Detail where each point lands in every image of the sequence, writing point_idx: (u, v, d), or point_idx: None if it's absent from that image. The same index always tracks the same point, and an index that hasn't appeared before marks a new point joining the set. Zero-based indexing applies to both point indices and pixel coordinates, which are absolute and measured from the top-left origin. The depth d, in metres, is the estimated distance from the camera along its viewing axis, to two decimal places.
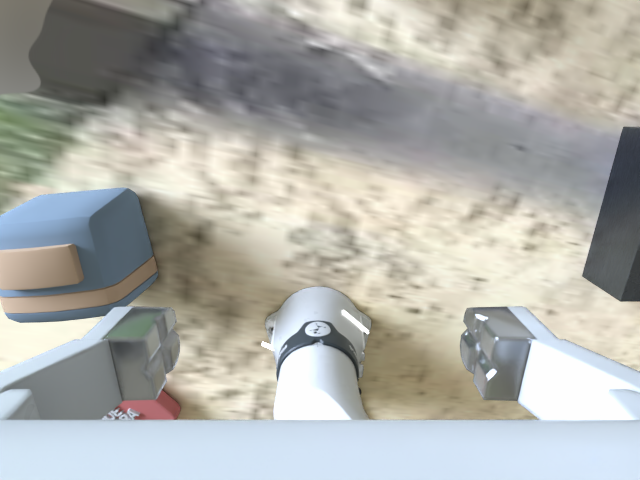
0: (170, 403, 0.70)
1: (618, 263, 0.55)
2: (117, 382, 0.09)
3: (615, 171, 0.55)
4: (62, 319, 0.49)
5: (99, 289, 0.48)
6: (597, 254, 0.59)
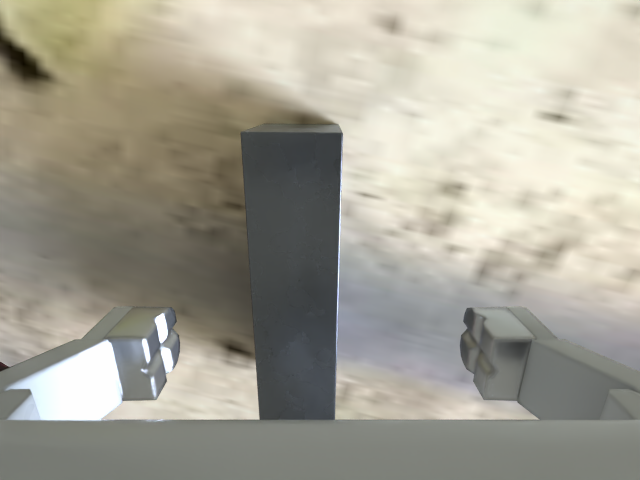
0: None
1: None
2: (117, 382, 0.09)
3: None
4: None
5: None
6: None
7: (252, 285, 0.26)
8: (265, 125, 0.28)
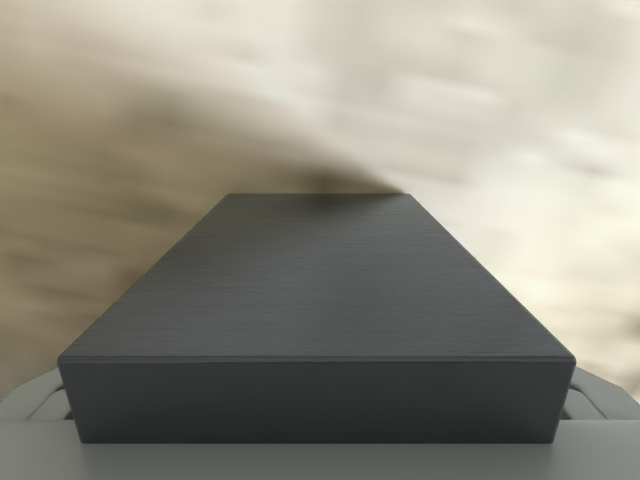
0: None
1: None
2: None
3: None
4: None
5: None
6: None
7: None
8: (225, 213, 0.10)
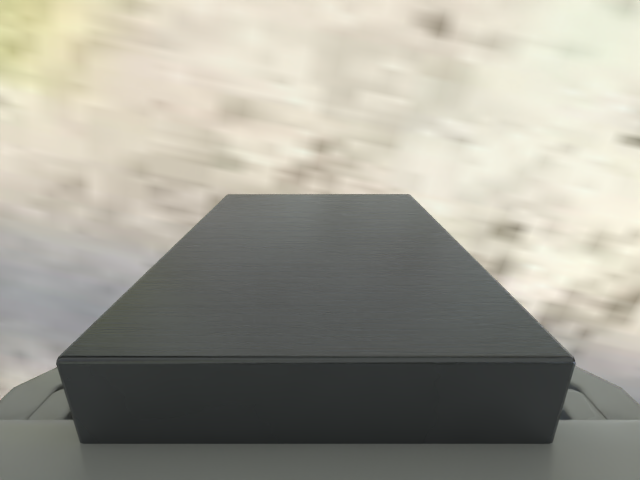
0: None
1: None
2: None
3: None
4: None
5: None
6: None
7: None
8: (225, 213, 0.10)
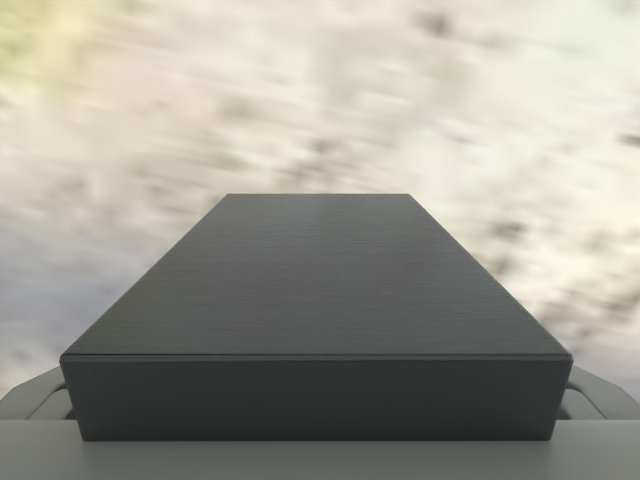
0: None
1: None
2: None
3: None
4: None
5: None
6: None
7: None
8: (225, 212, 0.10)
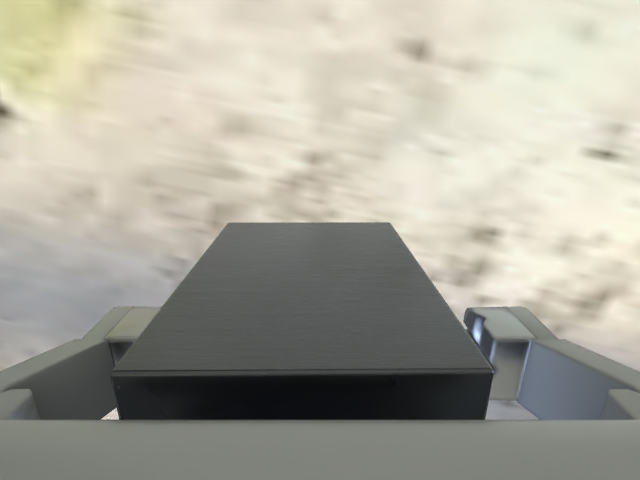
0: None
1: None
2: None
3: None
4: None
5: None
6: None
7: None
8: (227, 243, 0.12)
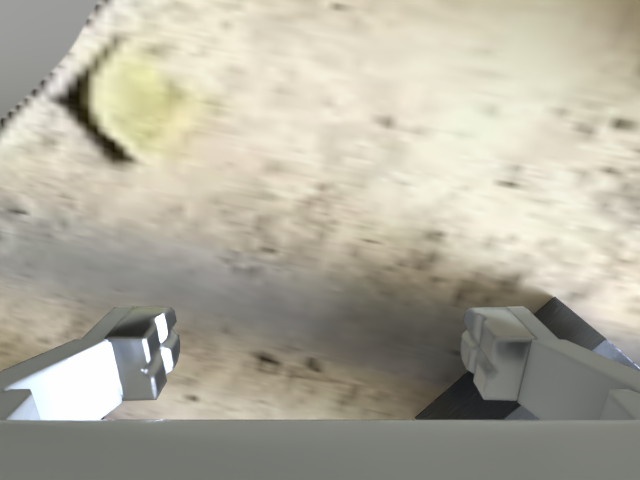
0: None
1: None
2: (117, 382, 0.09)
3: None
4: None
5: None
6: None
7: None
8: (569, 309, 0.42)
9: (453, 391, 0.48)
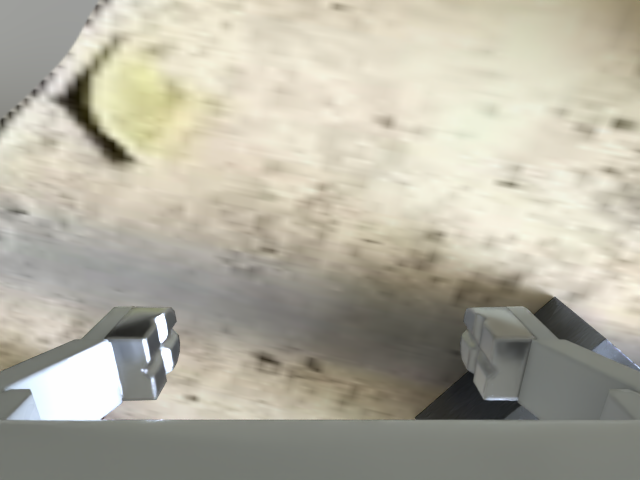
0: None
1: None
2: (117, 382, 0.09)
3: None
4: None
5: None
6: None
7: None
8: (569, 309, 0.42)
9: (453, 391, 0.48)
